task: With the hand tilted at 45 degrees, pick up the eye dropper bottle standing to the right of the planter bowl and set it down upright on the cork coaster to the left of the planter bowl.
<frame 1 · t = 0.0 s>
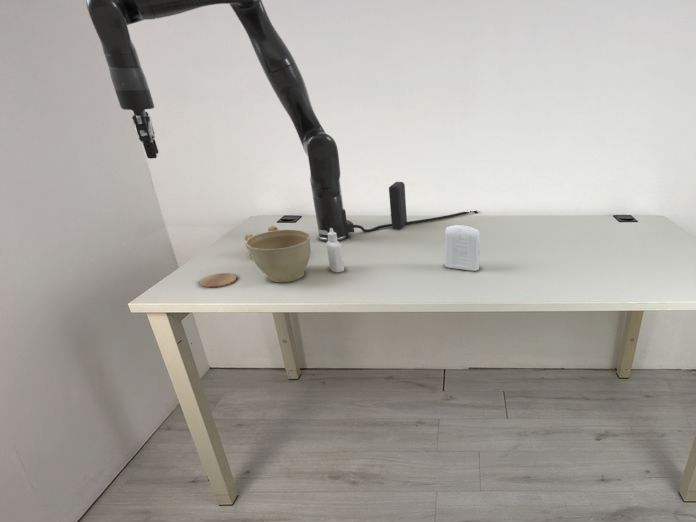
hand: (153, 155, 128), 29 cm above the table, tool pointing down, fingers open, 8 cm apart
cork coaster: (218, 281, 128), on the table
white arched tombstone: (462, 268, 137), on the table
mineral formation: (272, 255, 146), on the table
card reader: (399, 226, 173), on the table
eye dropper bottle: (337, 270, 136), on the table
planter bowl: (286, 277, 131), on the table
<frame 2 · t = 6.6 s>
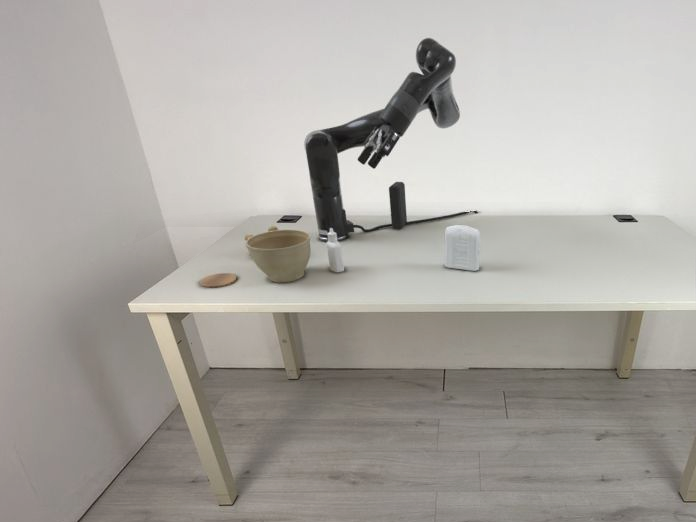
hand: (365, 164, 125), 28 cm above the table, tool tilted 40°, fingers open, 8 cm apart
nothing on the table moved.
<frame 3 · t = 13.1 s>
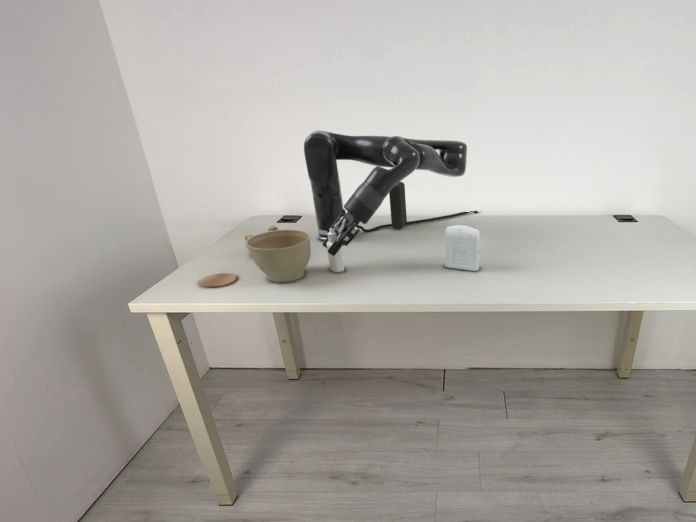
hand: (327, 250, 132), 6 cm above the table, tool tilted 45°, fingers closed on eye dropper bottle, 5 cm apart
eye dropper bottle: (337, 270, 136), on the table, touching gripper
everything else where it was.
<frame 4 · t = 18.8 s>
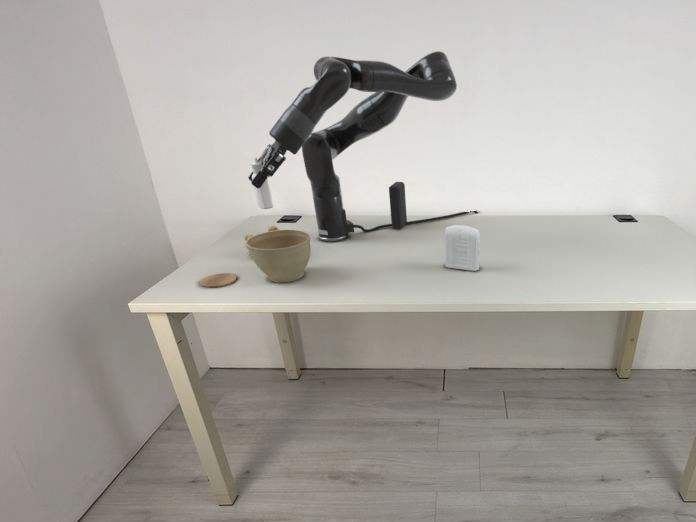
hand: (253, 183, 118), 25 cm above the table, tool tilted 45°, fingers closed on eye dropper bottle, 5 cm apart
eye dropper bottle: (266, 207, 122), point 19 cm above the table, touching gripper
everything else where it was.
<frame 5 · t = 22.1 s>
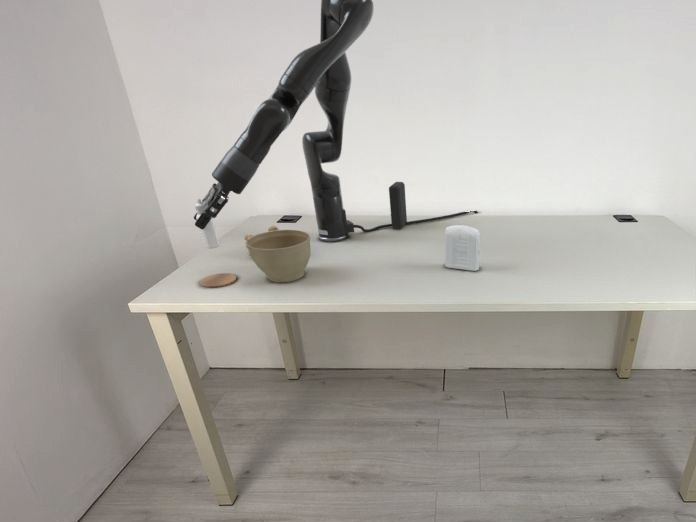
hand: (198, 223, 119), 16 cm above the table, tool tilted 45°, fingers closed on eye dropper bottle, 5 cm apart
eye dropper bottle: (212, 246, 123), point 10 cm above the table, touching gripper
everything else where it was.
when the fingers open (7 cm above the table, at t = 24.9 s): eye dropper bottle stays where it is, resting on cork coaster.
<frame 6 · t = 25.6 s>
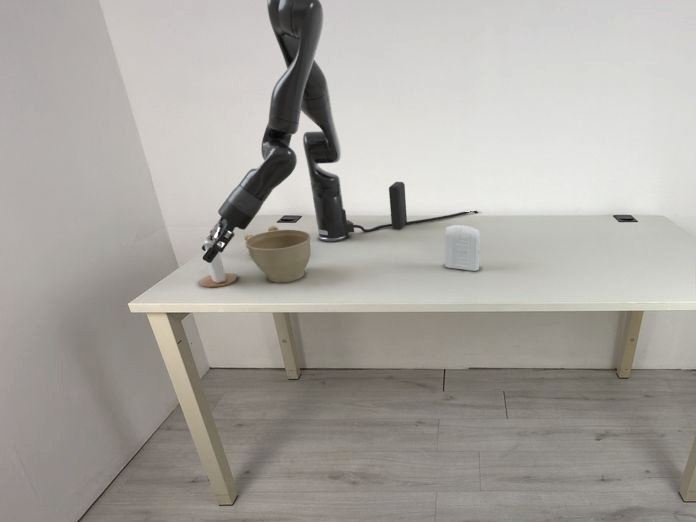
hand: (205, 255, 124), 7 cm above the table, tool tilted 45°, fingers open, 8 cm apart
eye dropper bottle: (219, 280, 128), resting on cork coaster
everything else where it was.
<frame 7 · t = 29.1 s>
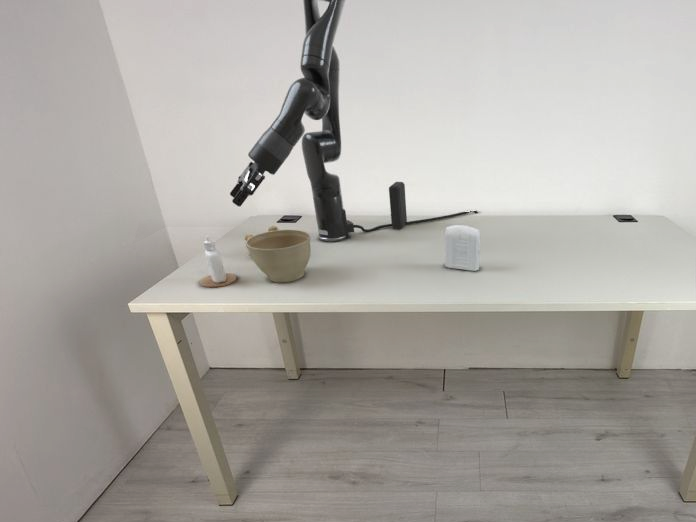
hand: (234, 200, 123), 20 cm above the table, tool tilted 45°, fingers open, 8 cm apart
nothing on the table moved.
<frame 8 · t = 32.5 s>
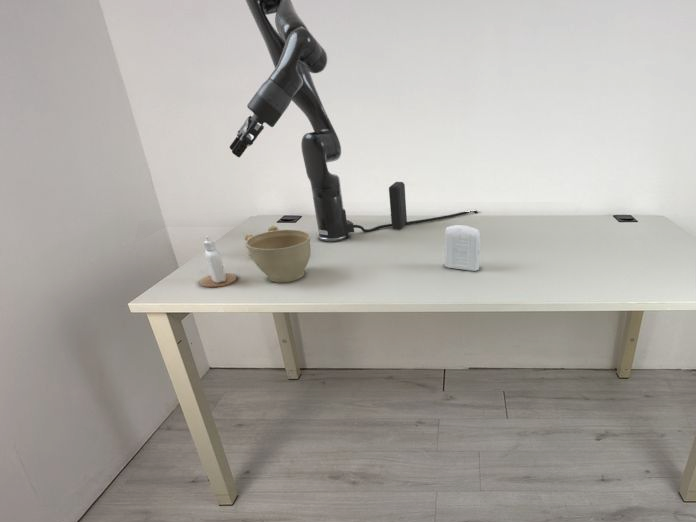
hand: (233, 152, 125), 31 cm above the table, tool tilted 45°, fingers open, 8 cm apart
nothing on the table moved.
at the end: eye dropper bottle inside the target area on the table beside the planter bowl (1.5 cm from its centre), resting on cork coaster; eye dropper bottle 0.4 cm from the cork coaster (horizontally); eye dropper bottle tilted 0° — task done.
